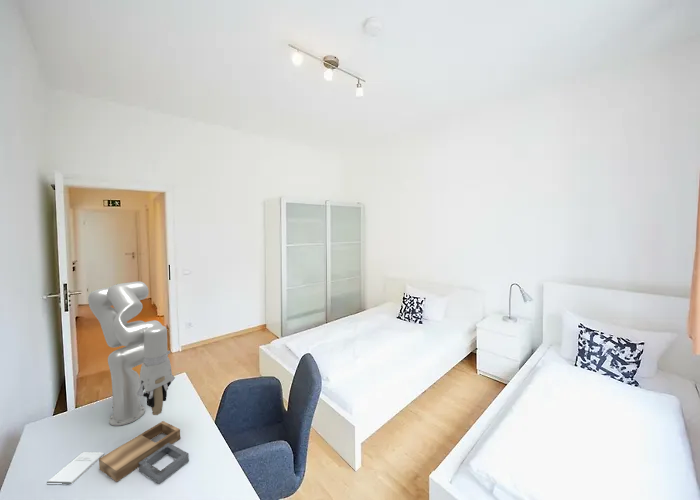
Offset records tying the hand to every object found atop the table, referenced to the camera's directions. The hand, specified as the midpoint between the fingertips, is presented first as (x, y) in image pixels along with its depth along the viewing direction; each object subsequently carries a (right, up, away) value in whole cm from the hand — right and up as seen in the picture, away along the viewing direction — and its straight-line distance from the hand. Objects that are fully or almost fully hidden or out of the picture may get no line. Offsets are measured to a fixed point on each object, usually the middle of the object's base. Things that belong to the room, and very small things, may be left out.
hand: (157, 402), depth 112 cm
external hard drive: (-20, -18, -12) cm, 29 cm away
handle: (0, -4, 0) cm, 4 cm away
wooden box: (-2, -17, -4) cm, 17 cm away
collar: (+9, -17, -10) cm, 22 cm away
